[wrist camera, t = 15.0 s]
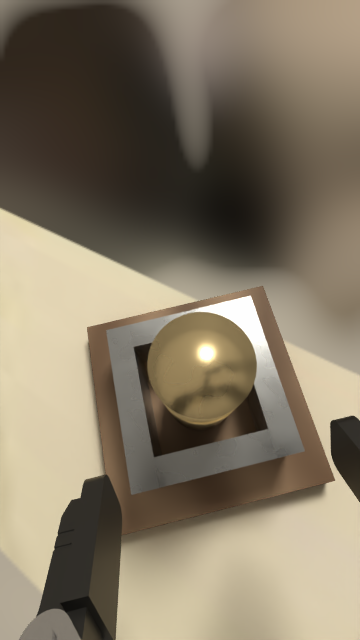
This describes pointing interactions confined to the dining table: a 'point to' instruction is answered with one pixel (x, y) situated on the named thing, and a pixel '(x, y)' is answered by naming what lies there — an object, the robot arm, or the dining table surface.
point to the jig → (201, 445)
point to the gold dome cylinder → (201, 368)
